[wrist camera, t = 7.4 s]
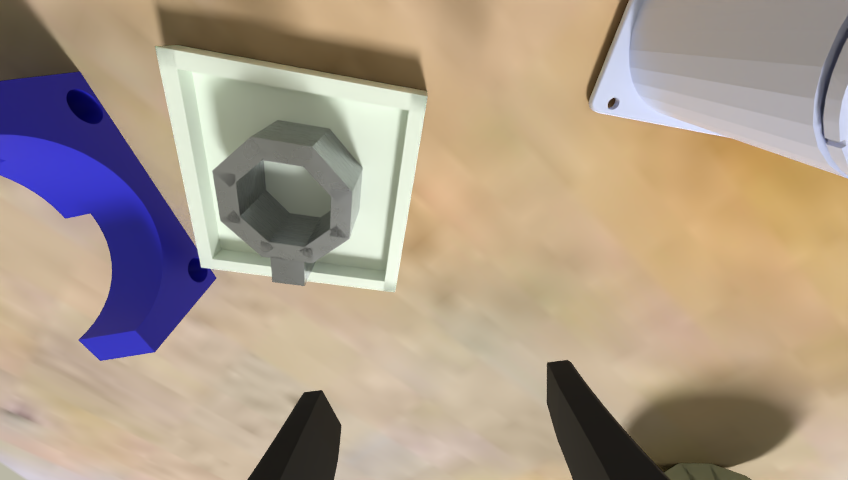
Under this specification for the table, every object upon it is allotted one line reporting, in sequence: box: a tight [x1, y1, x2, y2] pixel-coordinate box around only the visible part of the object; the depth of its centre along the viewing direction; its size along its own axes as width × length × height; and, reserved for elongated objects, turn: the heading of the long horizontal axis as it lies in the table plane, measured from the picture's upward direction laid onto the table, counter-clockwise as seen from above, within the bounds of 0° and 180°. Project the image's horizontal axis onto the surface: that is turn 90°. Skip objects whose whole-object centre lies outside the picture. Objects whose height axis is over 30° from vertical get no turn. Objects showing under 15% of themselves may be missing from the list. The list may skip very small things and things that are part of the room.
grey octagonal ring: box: [212, 120, 363, 286], centre depth 17 cm, size 6×7×3 cm
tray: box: [155, 45, 428, 292], centre depth 18 cm, size 11×11×2 cm
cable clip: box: [0, 72, 216, 361], centre depth 16 cm, size 12×4×6 cm, turn 12°
